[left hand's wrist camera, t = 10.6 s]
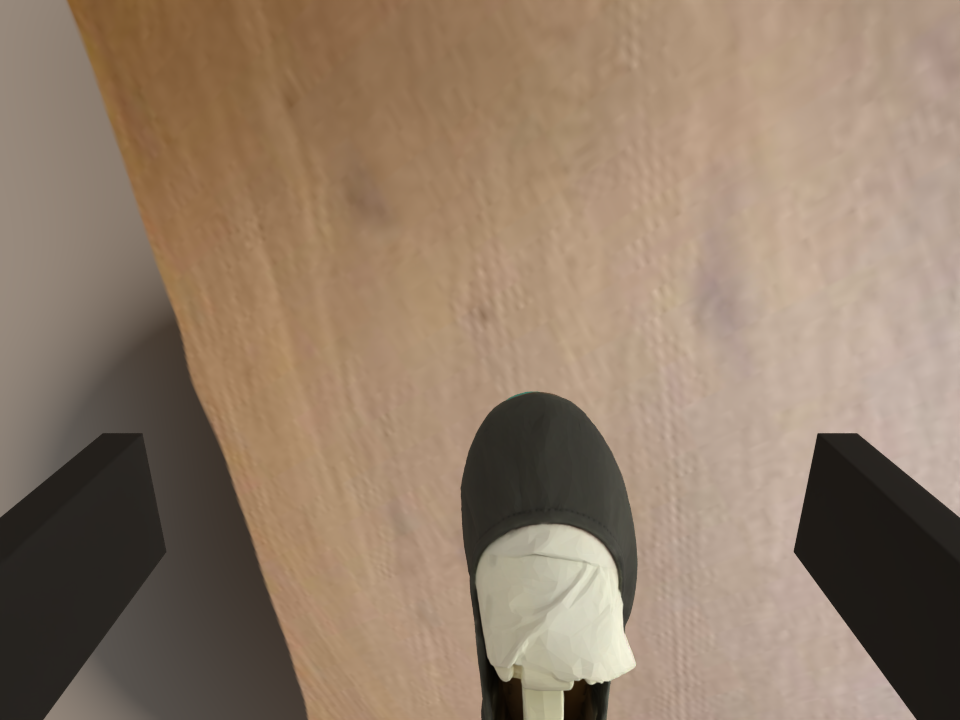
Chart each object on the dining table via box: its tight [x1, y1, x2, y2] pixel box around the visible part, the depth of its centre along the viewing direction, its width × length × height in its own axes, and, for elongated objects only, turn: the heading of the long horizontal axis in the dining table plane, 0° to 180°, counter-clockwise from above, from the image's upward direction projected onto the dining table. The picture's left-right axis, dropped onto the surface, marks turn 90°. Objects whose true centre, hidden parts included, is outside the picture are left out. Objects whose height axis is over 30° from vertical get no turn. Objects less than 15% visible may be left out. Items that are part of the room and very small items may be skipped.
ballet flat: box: [461, 392, 637, 720], centre depth 30 cm, size 8×24×8 cm, turn 4°
